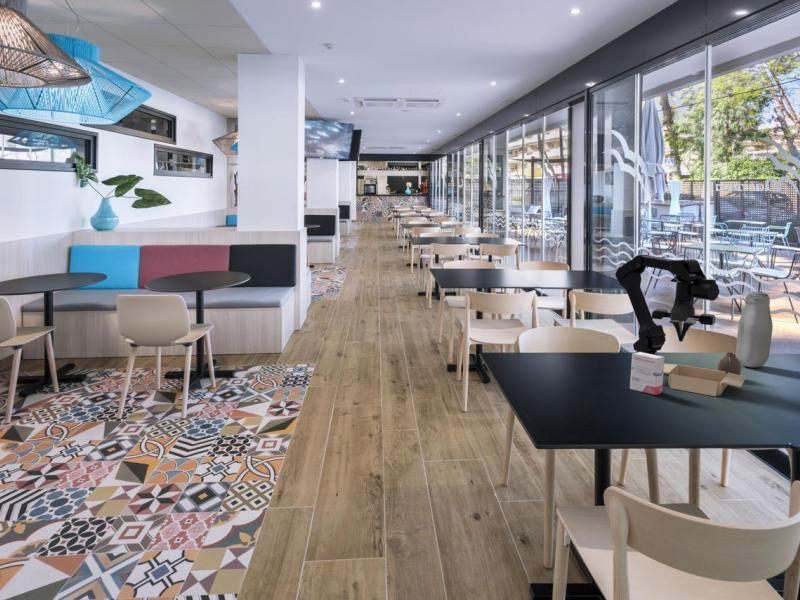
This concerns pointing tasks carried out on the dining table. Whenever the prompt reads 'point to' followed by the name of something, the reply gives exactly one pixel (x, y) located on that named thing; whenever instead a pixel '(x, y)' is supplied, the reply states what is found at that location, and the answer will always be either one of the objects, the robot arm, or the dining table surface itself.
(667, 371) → the flap left
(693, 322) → the robot arm
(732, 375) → the flap right
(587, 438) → the dining table surface
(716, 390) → the carton
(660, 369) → the ink box
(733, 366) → the vase
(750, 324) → the grey bottle
